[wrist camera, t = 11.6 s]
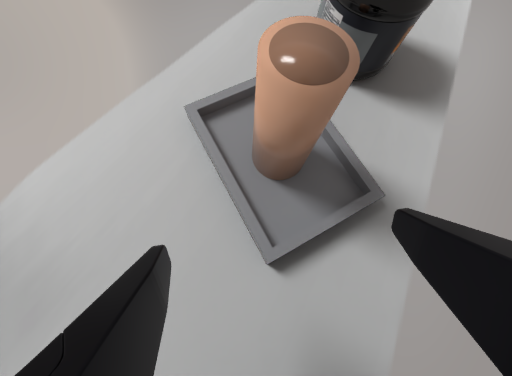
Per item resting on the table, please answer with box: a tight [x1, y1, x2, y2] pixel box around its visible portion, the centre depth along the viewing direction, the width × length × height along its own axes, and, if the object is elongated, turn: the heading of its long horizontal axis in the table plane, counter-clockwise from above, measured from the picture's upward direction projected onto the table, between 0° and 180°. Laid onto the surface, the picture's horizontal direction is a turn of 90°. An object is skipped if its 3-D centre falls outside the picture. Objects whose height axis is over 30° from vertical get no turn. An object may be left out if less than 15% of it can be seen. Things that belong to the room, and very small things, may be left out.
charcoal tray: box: [184, 77, 385, 264], centre depth 24 cm, size 18×13×2 cm
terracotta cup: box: [252, 16, 360, 180], centre depth 18 cm, size 6×6×13 cm
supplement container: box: [317, 0, 433, 79], centre depth 25 cm, size 10×10×12 cm
